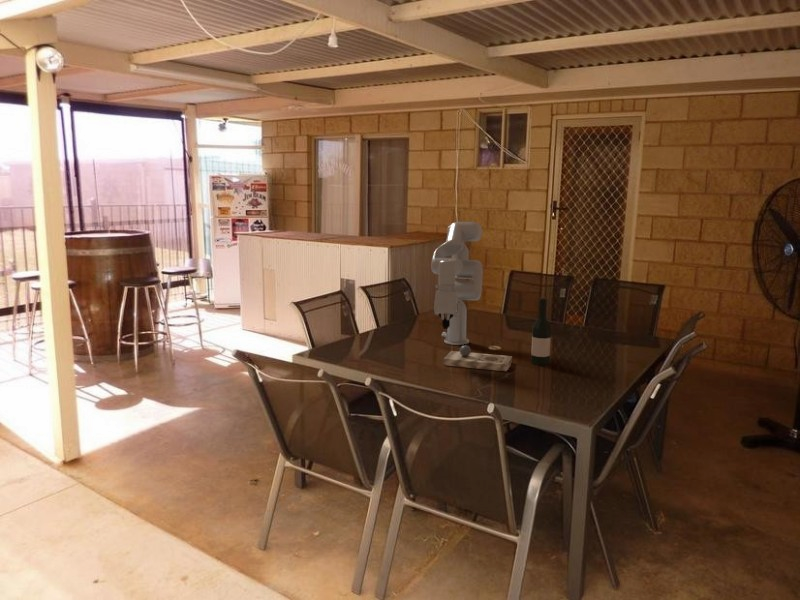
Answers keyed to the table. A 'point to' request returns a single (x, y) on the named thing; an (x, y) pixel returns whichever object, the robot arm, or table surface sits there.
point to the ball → (465, 350)
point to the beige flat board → (478, 361)
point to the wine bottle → (541, 337)
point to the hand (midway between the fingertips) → (445, 328)
